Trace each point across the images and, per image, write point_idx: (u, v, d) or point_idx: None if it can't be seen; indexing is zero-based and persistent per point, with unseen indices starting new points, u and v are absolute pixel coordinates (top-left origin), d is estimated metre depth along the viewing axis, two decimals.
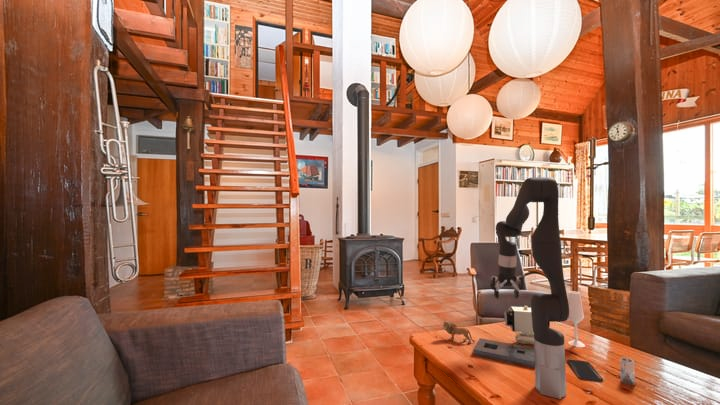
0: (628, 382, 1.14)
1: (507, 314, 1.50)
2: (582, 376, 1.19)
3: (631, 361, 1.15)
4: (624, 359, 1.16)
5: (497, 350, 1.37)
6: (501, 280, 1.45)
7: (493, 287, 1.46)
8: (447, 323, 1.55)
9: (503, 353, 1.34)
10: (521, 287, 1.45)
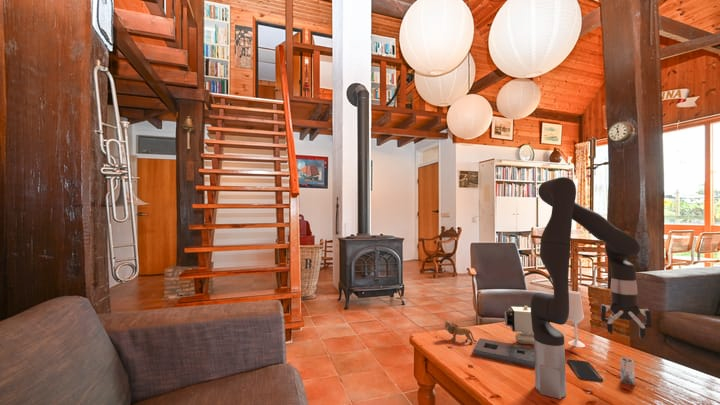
0: (628, 382, 1.14)
1: (507, 314, 1.50)
2: (582, 376, 1.19)
3: (631, 361, 1.15)
4: (624, 359, 1.16)
5: (497, 350, 1.37)
6: (615, 311, 1.17)
7: (603, 318, 1.18)
8: (449, 323, 1.55)
9: (503, 353, 1.34)
10: (648, 324, 1.12)
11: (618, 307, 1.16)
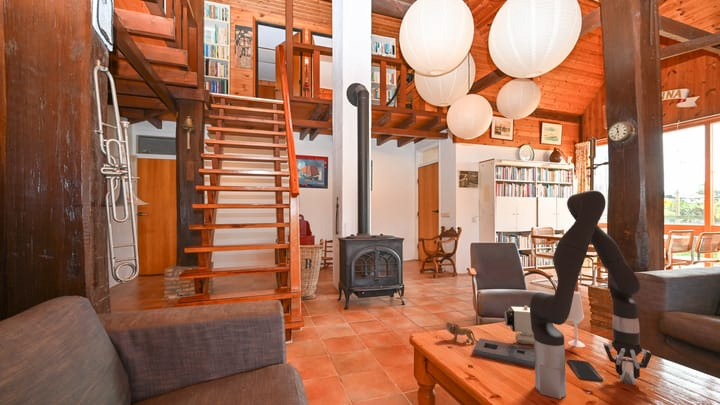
0: (628, 382, 1.14)
1: (507, 314, 1.50)
2: (582, 376, 1.19)
3: (631, 361, 1.15)
4: (624, 359, 1.16)
5: (497, 350, 1.37)
6: (617, 350, 1.16)
7: (612, 359, 1.17)
8: (450, 323, 1.55)
9: (503, 353, 1.34)
10: (643, 364, 1.12)
11: (620, 344, 1.16)
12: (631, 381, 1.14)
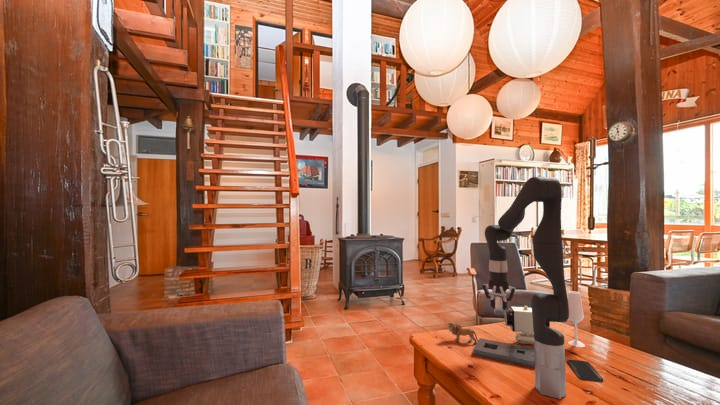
0: (498, 313, 1.39)
1: (507, 314, 1.50)
2: (582, 376, 1.18)
3: (501, 296, 1.40)
4: (497, 295, 1.41)
5: (497, 350, 1.37)
6: (491, 287, 1.41)
7: (487, 295, 1.42)
8: (452, 324, 1.54)
9: (503, 353, 1.34)
10: (509, 298, 1.37)
11: (493, 283, 1.41)
12: (500, 312, 1.39)
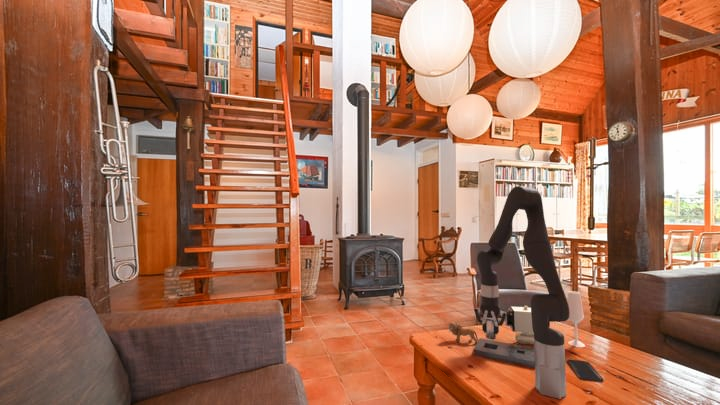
0: (489, 337, 1.41)
1: (507, 314, 1.50)
2: (582, 376, 1.18)
3: (493, 320, 1.41)
4: (488, 319, 1.43)
5: (497, 350, 1.37)
6: (483, 312, 1.43)
7: (479, 319, 1.43)
8: (453, 324, 1.53)
9: (503, 353, 1.34)
10: (500, 323, 1.39)
11: (485, 307, 1.42)
12: (491, 336, 1.40)
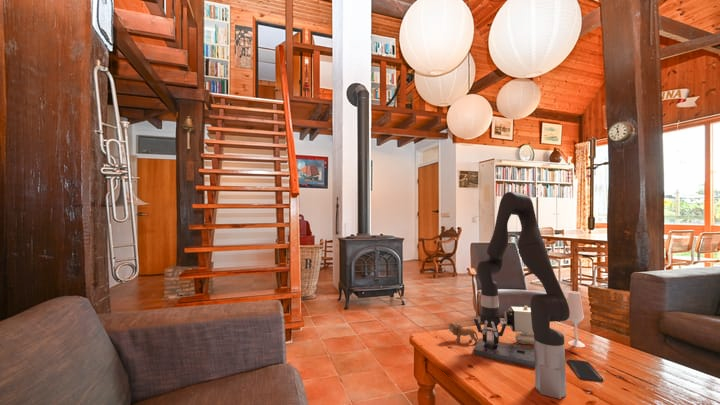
0: (489, 347, 1.40)
1: (507, 314, 1.50)
2: (582, 376, 1.18)
3: None
4: (488, 329, 1.42)
5: (497, 350, 1.37)
6: (483, 322, 1.42)
7: (479, 329, 1.43)
8: (453, 324, 1.53)
9: (503, 353, 1.34)
10: (500, 333, 1.39)
11: (485, 317, 1.42)
12: (492, 347, 1.40)
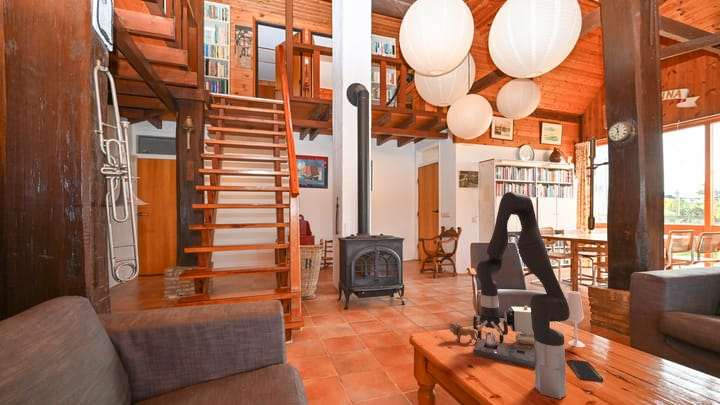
0: None
1: (507, 314, 1.50)
2: (582, 376, 1.18)
3: (493, 334, 1.41)
4: (488, 333, 1.42)
5: (497, 350, 1.37)
6: (482, 320, 1.43)
7: (474, 326, 1.44)
8: (453, 325, 1.53)
9: (503, 353, 1.34)
10: (505, 332, 1.38)
11: (485, 317, 1.42)
12: None
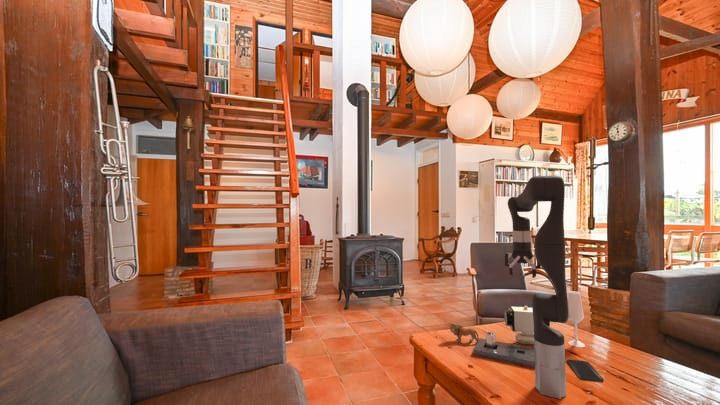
0: None
1: (507, 314, 1.50)
2: (583, 376, 1.18)
3: (493, 334, 1.41)
4: (488, 333, 1.42)
5: (497, 350, 1.37)
6: (514, 256, 1.43)
7: (506, 263, 1.45)
8: (454, 325, 1.53)
9: (503, 353, 1.34)
10: (538, 265, 1.39)
11: (517, 253, 1.43)
12: None
